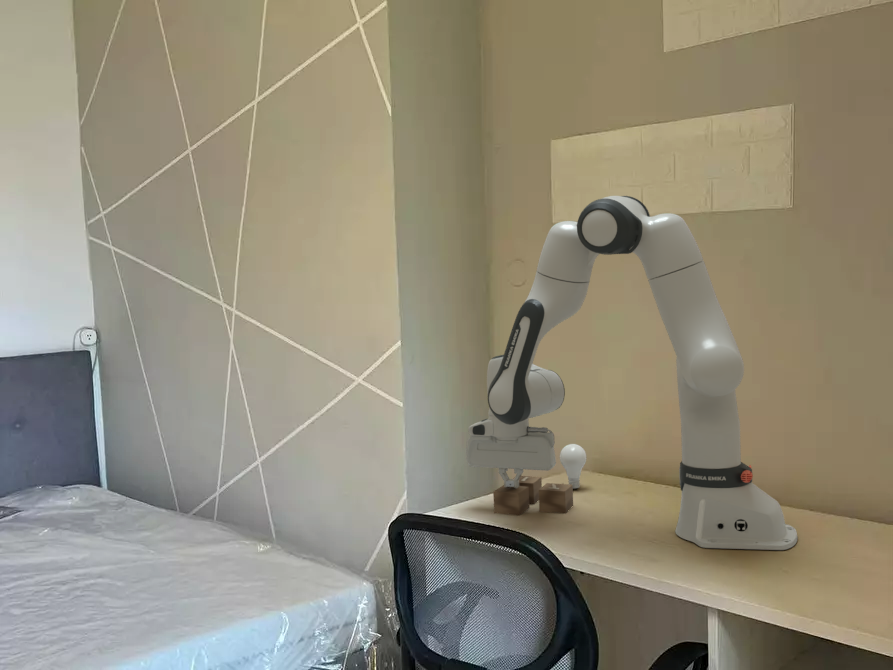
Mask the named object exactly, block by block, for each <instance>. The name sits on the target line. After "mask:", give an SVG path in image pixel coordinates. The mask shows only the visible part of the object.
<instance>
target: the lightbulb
mask: <svg viewBox="0 0 893 670" xmlns="http://www.w3.org/2000/svg"><path fill="white" fill-rule="evenodd" d="M559 461H560V464H561V466H562V467H563V468H564V470H565V472H566V475H567V479H568V481H567V482H568V484H570V485H573V489H575V490H577V489H579V488H580V486H581V485H580V484H581V483H580V477H581V474H582V473H581V472H582V469H583V468H584V466H585V464H586V462H587V452H586V450H585V448H584V447H582V446H581V445H579V444H577V443H569V444H567V445H565V446H564V447H562V449H561V451H560V452H559Z"/></svg>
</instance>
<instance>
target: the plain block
mask: <svg viewBox="0 0 893 670" xmlns="http://www.w3.org/2000/svg"><path fill="white" fill-rule="evenodd" d="M492 493H493V495H492V496H493V512H494V514H499V515H500V514H501V515H509V516H510V515H511V516H512V515H513V516H521V515H523V514H524V513H525V512H526V511H528V510H529V509H530V504H529V487H525V486H519V488H517V489H515V488H505V487H504V484H503V485H501V486H500V487H498V488H496V489H495V490H493V492H492Z"/></svg>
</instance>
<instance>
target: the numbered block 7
mask: <svg viewBox="0 0 893 670" xmlns="http://www.w3.org/2000/svg"><path fill="white" fill-rule="evenodd" d="M573 491H574V490H573V485H570V484H569V483H568V484H567V483H553V482H552V483H549V482H546V483H545V484H544V485H542V487H541V488H540V489H539V501H538V508H539V509H538V510H539V512H540V513H554V514H567V513H568V512H569V511H570V510H571V509H572V508H573V507H574V492H573ZM572 506H573V507H572ZM571 507H572V508H571ZM570 508H571V509H570ZM569 509H570V510H569ZM568 510H569V511H568Z"/></svg>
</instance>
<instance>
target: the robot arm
mask: <svg viewBox="0 0 893 670" xmlns="http://www.w3.org/2000/svg"><path fill="white" fill-rule="evenodd" d="M629 254H634V255H636V256H637V257H638V259H639V260H640V262H641V264H642V267H643V269H644V272H645V276H646V278H647V281H648V284H649V288H650V290H651V293H652V295H653V298H654V301H655V304H656V307H657V309H658V313H659V315H660V319H661V320H662V322H663V325H664V328H665V330H666V332H667V336H668V337H669V340H670V342H671V345H672V348H673V351H674V353H675V357H676V359H675V362H676V364H675V365H676V379H677V381H676V382H677V392H678V395H677V396H678V406H679V414H680V417H679V418H680V434H681V437H680V439H681V440H680V441H681V462H680V463H679V469H678V470H679V471H678V473H679V487H680V491H681V497H680V499H681V500H680V508H679V515H678V520H677V524H676V528H675V530H674V532H675V534H676V535H677V536H678V537H680V538H681V539H683V540H687V541H689V542H691V543H694V544H696V545H697V546H699V547H701V548H704V549H705V548H706V549H728V550H729V549H731V550H732V549H733V550H734V549H735V550H736V549H737V550H762V551H763V550H768V551H769V550H770V551H784V550H788V549H791V548H793V547H794V546H795V545H796V543H797V542H798V533H797V530H796V528H795V527H794V526H792V525H790V524H789V523H788V524H786V523H785V516H784V513H783V510H782V507H781V505H780V503H779V501H777V499H775V498H774V497H772V496H771V495H769V494H768V493H767V492H765V491H764V490H762V489H761V488H760V487H758V485H756V484H755V483H753V477H754V476H753V475H754V474H753V467H752V465H751V464H749V466H748V464H746V463H744V462H742V453H741V451H742V450H741V449H742V448H741V447H742V446H741V421H740V417H739V410H738V401H737V394H736V389H737V388H738V387H739V386H740V385H741V382H742V380H743V378H744V374H745V363H744V360H743V357H742V355H741V352H740V349H739V346H738V343H737V341H736V338H735V336H734V335H733V332H732V330H731V329H732V328H731V327H730V325H729V324H730V323H728V320H727V317H726V315H725V313H724V311H723V309H722V307H721V304H720V302H719V300H718V297H717V295H716V292H715V288H714V285H713V283H712V280H711V277H710V274H709V271H708V268H707V266H706V264H705V263H706V262H705V260H704V258H703V255H702V252H701V250H700V247H699V245H698V243H697V241H696V239H695V237H694V235H693V233H692V230H690V227H689V225H688V224H687V223H686V220H684V218H683V217H682V216H680V215H679V214H675V213H659V214H655V215H652V216H651V215H650V211H649V210H648V208H647V207H646V204H644V203H643V202H642V201H641V200H639V199H638V198H636V197H633V196H630V195H629V196H628V195H609V196H605V197H602V198H598V199H596V200H593V201H591V202H590V203H589V204H588V205H586V206H585V207H584V208H583V209H582V211H581V212H580V214H579V215H578V219H577V221H575V220H564V221H559V222H557V223H555V224H554V225H553V226H551V228H550V229H549V230H548V233H547V234H546V237H545V241H544V242H543V246H542V248H541V251H540V256H539V259H538V263H537V266H536V267H537V268H536V272H535V276H534V279H533V282H532V285H531V289H530V290H529V293H528V296H527V297H526V299H525V301H524V302H523V304H522V305H521V307H520V309H519V311H518V312H517V314H516V317H515V320H514V322H513V325H512V328H511V332H510V335H509V338H508V340H507V344H506V347H505V350H504V353H503V354H499V355H496V356H494V357H492V358H490V360H489V362H488V364H487V371H486V393H487V403H488V411H487V414H488V418H485V419H482V420H481V421H478V422H475V423H473V424H471V425H470V426H468V427H467V428H468V429H467V431H468V434H469V435H470V436H468V438H467V440H466V448H465V460H466V463H467V464H468V466H469V467H474V468H475V467H477V468H492V469H498V474H499V476H500V477H501V479H502V481H503V485H504V487H505V488H515V489H517V488H519V479H520V477H521V476H523V473H524V470H527V471H529V470H531V471H546V472H547V471H551V470H552V469H553V468H554V467H556V463H557V459H556V452H555V434H554V432H553V431H552V430H551V429H548V427H544V426H543V427H539V426H538V427H537V426H530V423H529V422H530V421H529V419H533V418H536V417H539V416H542V415H543V416H544V415H547V414H549V413H552V412H554V411H558V410H559V409H560V408H561V407H562V405H563V403H564V400H565V395H566V388H565V385H564V381H563V380H562V378H561V376H560V375H559V374H558V373H557V372H555V371H554V370H552V369H546V368H544V367H541V366H538V365H536V364H534V360H535V357H536V353H537V350H538V348H539V345H540V343H541V341H542V340H543V338H544V337H545V336H546V335H547V334H548V333H549V332H550V331H551V330H552V329H554V328H555V327H557V326H558V325H560V324H561V323H563V322H564V321H566V320H568V319H570V318H571V317H573V316H574V315H575V314H577V313H578V312H579V311H580V310H581V308H582V306H583V304H584V302H585V299H586V297H587V294H588V290H589V285H590V282H591V276H592V271H593V268H594V264H595V261H596V259H597V258H598V257H599V255H603V256H604V255H605V256H606V255H607V256H608V255H610V256H611V255H629ZM510 469H512V470H513V472H514V474H516V475H515V476H514V477H515V479H513V478H510V477H509V475H508V473H507V472H508V470H510Z"/></svg>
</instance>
